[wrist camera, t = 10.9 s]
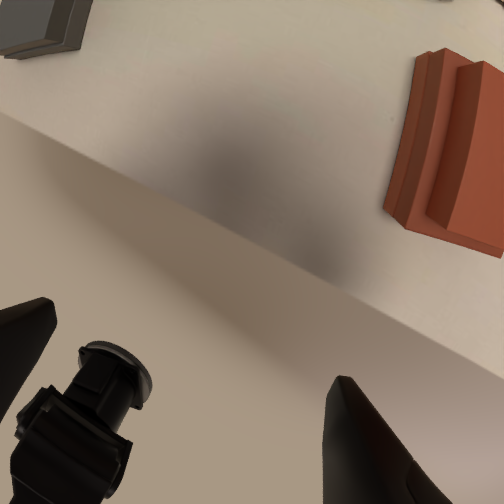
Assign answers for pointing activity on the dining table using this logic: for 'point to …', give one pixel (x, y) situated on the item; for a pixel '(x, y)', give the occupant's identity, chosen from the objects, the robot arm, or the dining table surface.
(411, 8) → the dining table surface
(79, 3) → the grey books
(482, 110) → the rust red rectangular block
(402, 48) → the dining table surface
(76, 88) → the dining table surface
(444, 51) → the rust books
